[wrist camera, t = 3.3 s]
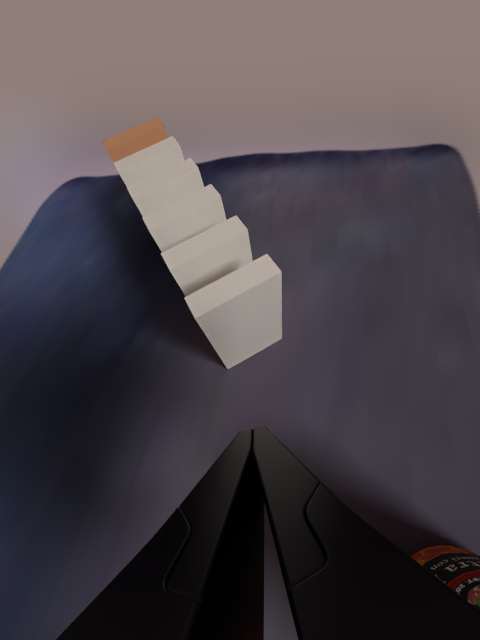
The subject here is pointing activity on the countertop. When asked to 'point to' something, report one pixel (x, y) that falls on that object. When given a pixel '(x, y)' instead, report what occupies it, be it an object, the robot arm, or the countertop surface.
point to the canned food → (454, 569)
